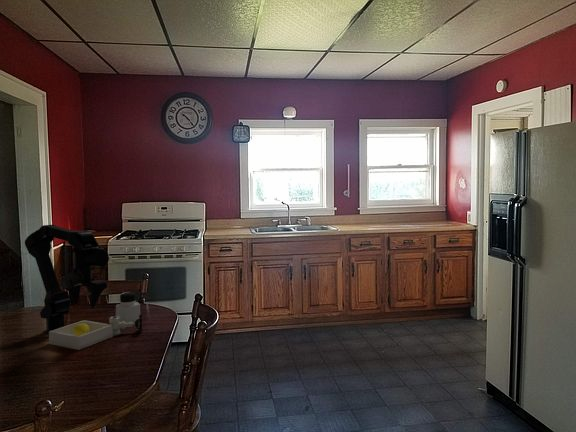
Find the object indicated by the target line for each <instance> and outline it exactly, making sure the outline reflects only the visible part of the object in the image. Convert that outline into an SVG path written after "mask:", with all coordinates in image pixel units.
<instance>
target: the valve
mask: <svg viewBox="0 0 576 432" xmlns="http://www.w3.org/2000/svg"><path fill="white" fill-rule="evenodd" d="M108 320H109V322H108V324H109V325H112V326H113V337H115V336H119V335H120V334H121V330H124V329H126V328H127V327H128V328H130V327H133V326H134V327H135V328H136V329H137V330H139V332H140V333H141V332H143V314H140V315H139V319H137V320H136V321H135V322H133V323H132V322H129V323H127V322H125V321H122V322H119V321H120V317H119V316H116V315H115V316H110V317H109V319H108Z"/></svg>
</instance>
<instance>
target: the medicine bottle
mask: <svg viewBox="0 0 576 432" xmlns="http://www.w3.org/2000/svg"><path fill="white" fill-rule="evenodd" d="M119 301H120V302H119V303H118V304H116V305H115V316H119V317H120V321H119V322H122V321H125V322H127V323H129V322H132V323H135V321H136V320H137V319H139V315H141V303H138V302H136V293H135V292H132V291H125V292H123V293H120V296H119Z"/></svg>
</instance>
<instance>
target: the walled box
mask: <svg viewBox="0 0 576 432" xmlns="http://www.w3.org/2000/svg"><path fill="white" fill-rule="evenodd" d="M80 323H85V324H87V325H88V326H89V331H90V332H89V333H86V334H83V335H80V336H76V335H74V332H73V331H74V328H75V326H76V325H78V324H80ZM109 324H110V323H103V322H96V321H93V320H91V321H90V320H85V319H83V320H81V321H78V322H73V323H71V324H68V325H65V326H64V327H61V328H58V329H55V330H52V331H49V333H48V342H49V343H48V344H49V345H53V346H57V347H63V348H68V349H71V350H77V351H80V350H82V349H86V348H88V347H91V346H93V345H95V344H98V343H100V342H102V341H105V340H106V341H107V339H111V338H113V337H114V336H113V326H112V325H109Z"/></svg>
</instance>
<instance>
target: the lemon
mask: <svg viewBox="0 0 576 432" xmlns="http://www.w3.org/2000/svg"><path fill="white" fill-rule="evenodd" d="M73 332H74V335H76V336H80V335H83V334H86V333H89V332H90V331H89V326H88V325H87V324H85V323H80V324H78V325H76V326H75V328H74V331H73Z"/></svg>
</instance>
